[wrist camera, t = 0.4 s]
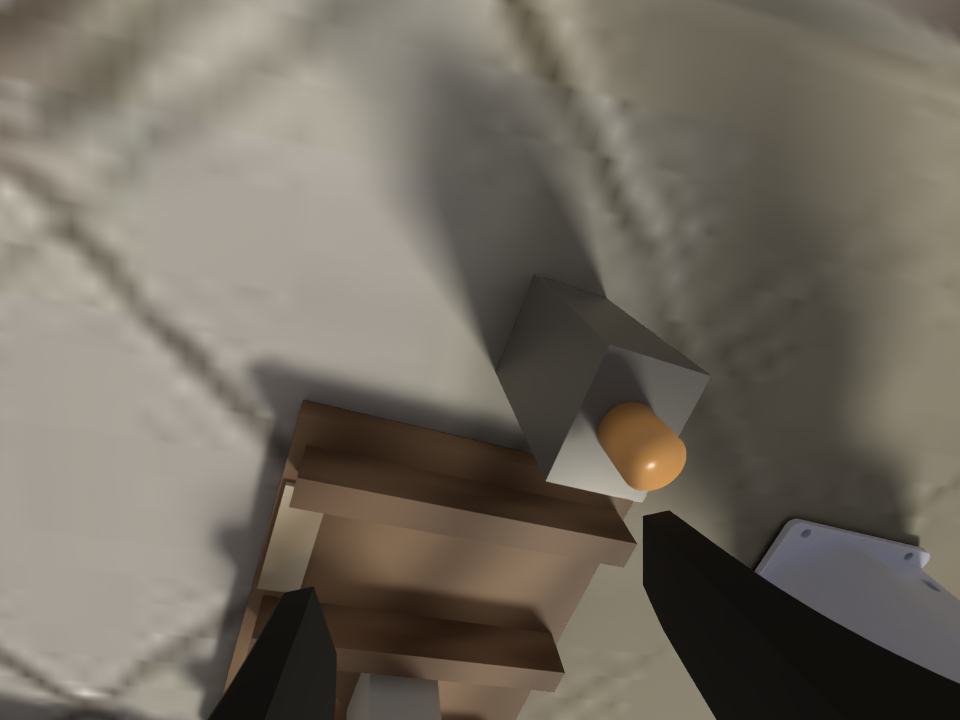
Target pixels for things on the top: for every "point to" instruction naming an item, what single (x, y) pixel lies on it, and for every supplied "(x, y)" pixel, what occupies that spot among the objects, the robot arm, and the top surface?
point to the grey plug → (394, 699)
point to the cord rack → (431, 558)
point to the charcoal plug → (597, 393)
